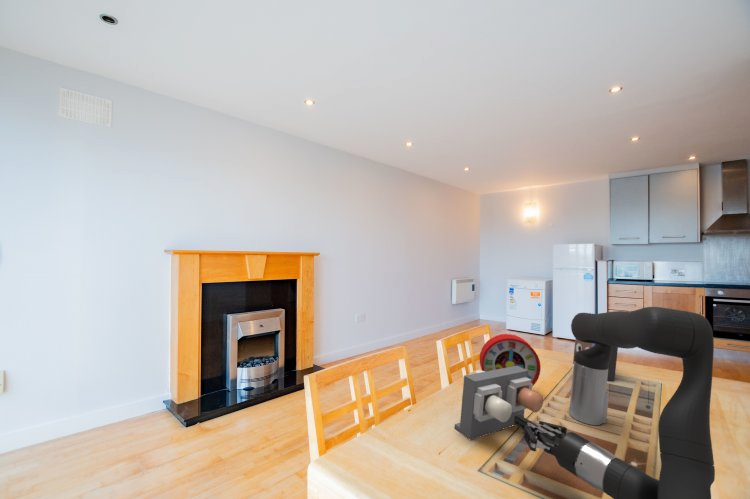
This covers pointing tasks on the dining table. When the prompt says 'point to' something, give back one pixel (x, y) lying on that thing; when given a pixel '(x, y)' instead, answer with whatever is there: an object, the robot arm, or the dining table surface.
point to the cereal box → (612, 363)
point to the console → (480, 389)
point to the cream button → (498, 408)
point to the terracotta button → (530, 399)
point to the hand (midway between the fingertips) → (516, 418)
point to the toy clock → (510, 355)
